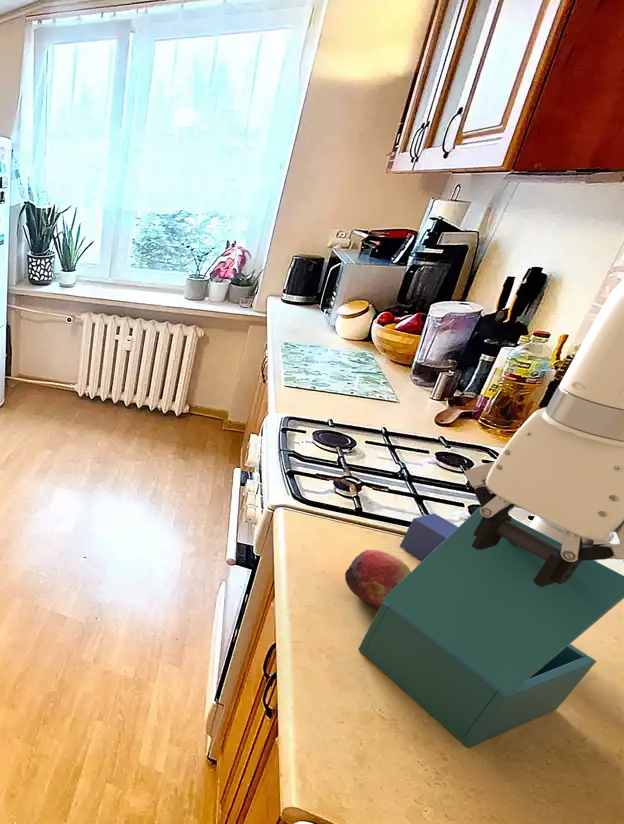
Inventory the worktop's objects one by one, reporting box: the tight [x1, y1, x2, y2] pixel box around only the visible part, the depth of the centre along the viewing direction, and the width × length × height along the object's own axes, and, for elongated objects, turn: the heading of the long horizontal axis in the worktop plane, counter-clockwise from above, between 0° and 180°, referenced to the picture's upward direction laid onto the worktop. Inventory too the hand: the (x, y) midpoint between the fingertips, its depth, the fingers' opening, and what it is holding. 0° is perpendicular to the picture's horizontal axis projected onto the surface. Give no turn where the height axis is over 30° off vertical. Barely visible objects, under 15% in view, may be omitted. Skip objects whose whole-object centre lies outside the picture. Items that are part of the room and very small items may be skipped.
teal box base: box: [357, 602, 597, 749], centre depth 64 cm, size 16×14×9 cm
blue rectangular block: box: [399, 513, 459, 562], centre depth 85 cm, size 7×5×6 cm
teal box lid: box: [383, 505, 624, 696], centre depth 57 cm, size 16×14×6 cm
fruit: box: [344, 549, 412, 608], centre depth 76 cm, size 8×8×8 cm
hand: (514, 562), depth 56 cm, fingers closed on teal box lid, 5 cm apart
